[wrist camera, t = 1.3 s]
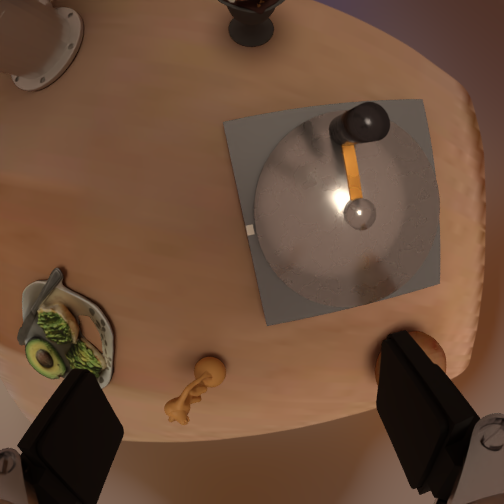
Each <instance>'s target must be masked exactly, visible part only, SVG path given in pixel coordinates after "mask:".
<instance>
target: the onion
mask: <svg viewBox="0 0 504 504" xmlns="http://www.w3.org/2000/svg"><path fill="white" fill-rule="evenodd" d="M408 333H409V334H410V335H411V336H412V338H413V339H414V340H415V341H416V342H417V344H418V345H419V346H420V347H421V348H422V350H423V351H424V352H425V353H426V354H427V356H428V357H429V358H430V359H431V361H432V362H433V363H435V364H437V365H438V366H440V367H441V369H442V370H443V371H444V372H445V374H446V357H445V353H444V351H443V349H442V348H441V346H440V345H439V343H438V342H437V341H436V340H435V339H434V338H432V337H431V336H429V335H427V334H425V333H423V332H420V331H412V332H408ZM380 362H381V352H380V354H379V356H378V359H377V363H376V367H375V377H376V382H377V385H378V383H379V373H380Z"/></svg>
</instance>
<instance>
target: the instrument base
mask: <svg viewBox="0 0 504 504" xmlns="http://www.w3.org/2000/svg"><path fill="white" fill-rule="evenodd" d="M364 102H374V103H377V104H379V105H380V106H382V107H383V108H384V109H385V111H386V112H387V114H388V116H389V119H390V121H392V122H393V123H395V124H397V125H398V126H400V127H401V128H402V129H403V130H405V131H406V132H407V133H408V134H409V135H410V136H411V137H412V138H413V139H414V140H415V141H416V142H417V143H418V145H419V146H420V147H421V149H422V150H423V151H424V153H425V155H426V156H427V158H428V160H429V162H430V164H431V166H432V169H433V172H434V174H435V166H434V159H433V152H432V146H431V140H430V134H429V128H428V123H427V118H426V113H425V109H424V104H423V100H422V99H406V100H378V101H362V102H349V103H339V104H329V105H320V106H312V107H304V108H297V109H290V110H284V111H278V112H272V113H266V114H261V115H255V116H250V117H245V118H240V119H235V120H231V121H226V122H223V125H224V129H225V134H226V139H227V143H228V148H229V153H230V157H231V162H232V167H233V171H234V176H235V181H236V185H237V190H238V195H239V199H240V204H241V209H242V213H243V218H244V222H245V227H246V232H247V236H248V241H249V246H250V250H251V255H252V260H253V264H254V269H255V273H256V278H257V283H258V287H259V292H260V297H261V301H262V306H263V310H264V315H265V320H266V324H267V326H270V325H275V324H280V323H285V322H290V321H295V320H300V319H305V318H309V317H314V316H318V315H323V314H327V313H332V312H336V311H340V310H345V309H349V308H353V307H334V306H328V305H324V304H320V303H317V302H314V301H311V300H309V299H307V298H305V297H303V296H301V295H299V294H298V293H296V292H295V291H294V290H292V289H291V288H289V287H288V286H287V285H286V284H285V283H284V282H283V281H282V280H281V279H280V278H279V277H278V276H277V274H276V273H275V272H274V271H273V269H272V268H271V266H270V265H269V263H268V261H267V260H266V258H265V256H264V253H263V251H262V249H261V246H260V243H259V240H258V236H257V232H256V225H255V218H254V201H255V193H256V188H257V184H258V180H259V176H260V174H261V171H262V169H263V167H264V164H265V162H266V161H267V159H268V157H269V156H270V154H271V152H272V151H273V150H274V148H275V147H276V146H277V145H278V143H279V142H280V141H281V140H282V139H283V138H284V137H285V136H286V135H287V134H289V133H290V132H291V131H292V130H293V129H295V128H296V127H298V126H299V125H301V124H302V123H304V122H306V121H308V120H310V119H312V118H313V117H316V116H319V115H322V114H325V113H329V112H334V111H340V110H350V109H352V108H354V107H356V106H358V105H360V104H362V103H364ZM435 178H436V175H435ZM437 284H440V224H439V223H438V227H437V232H436V236H435V239H434V242H433V245H432V247H431V249H430V251H429V253H428V256H427V257H426V259H425V261H424V262H423V264H422V265H421V267H420V268H419V269H418V271H417V272H416V273H415V274H414V276H413V277H412V278H411V279H410V280H409V281H408V282H407V283H405V284H404V285H403V286H402V287H400V288H399V289H398V290H397V291H395V292H393V293H392V294H390V295H389V296H387V297H385V298H382V299H380V300H378V301H381V300H384V299H388V298H392V297H396V296H399V295H403V294H406V293H410V292H413V291H417V290H420V289H424V288H427V287H430V286H434V285H437ZM376 302H377V301H376ZM372 303H373V302H372ZM355 307H357V306H355Z"/></svg>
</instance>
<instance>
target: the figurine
mask: <svg viewBox="0 0 504 504" xmlns="http://www.w3.org/2000/svg"><path fill="white" fill-rule="evenodd" d="M194 375H195V378H196V380H194V381H193V382H192V383H190V384H189V385H188V386H187V387H186V388H185V389H184V391H183V392H182V394H181V395H180V396H179V397H177V398H174V399H172V400H170V401H168V402H167V403H166V405H165V407H164V411H165V413H166V415H168V416H169V419H168V420H169V422H173V421H178V422H179V423H180V424H181V425H186V424H188V422H189V417H188V416H187V414H188V413H189V411H190V404H192V403H196V402H200V401H201V394H202V393H205V392H206V391H207V387H216V386H218V385H220V384H221V383H222V382H223V381H224V379H225V376H226V369H225V366H224V365H223V363H222V362H221V361H220V360H219V359H217V358H214V357H205V358H202V359H201V360H199V361H198V362H197V364H196V365H195V368H194Z"/></svg>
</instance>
